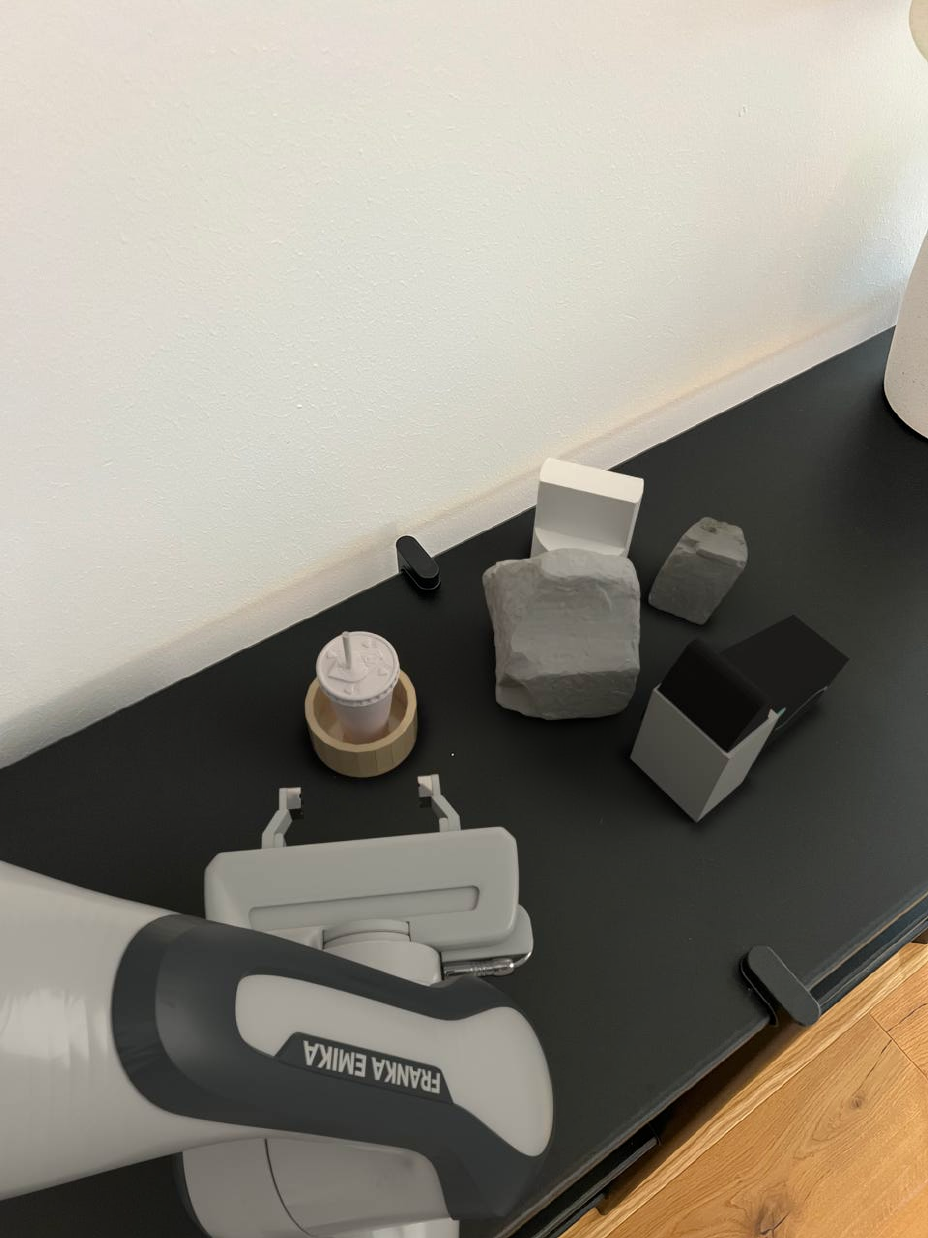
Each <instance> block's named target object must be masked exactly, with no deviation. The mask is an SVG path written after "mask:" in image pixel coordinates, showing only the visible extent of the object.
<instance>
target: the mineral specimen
mask: <svg viewBox="0 0 928 1238" xmlns="http://www.w3.org/2000/svg"><path fill="white" fill-rule="evenodd" d="M748 551H749V550H748V546H747V541H746V540H745V535H744V532H743V529H742V528H740V527H739V526H737V525H733V524H729V523H728V522H726V521H718V520H716V519H714V518H712V517H709V516H705V517H703V518H700V520H699V521H697V522H695V523H694V525H692V526H691V527H689V529H688V530H687V531H686V532H685V533H684V534H683V535H682V537H681V538H680V539H679V541H678V542H677V543H676V545H675V546H674V548H673V549H672V551H671V552H670V554H669V555H668V557H667V558H666V560H665V562H664V564H663V565H662V566H661V568H660V570H659V572H658V573H657V575H656V577H655V580H654V582H653V584H652V586H651V588H650V591H649V594H648V600H647V601H648V604H649V605H650V606H652V607H653V608H656V609H657V610H660V611H662V612H665V613H669V614H672V615H673V616H675V617H679V618H683V619H684V620H686V621H689V622H690V623H694V624H697V625H705V623H706V622H707V621H708V620H709V618H710V616H711V615H712V614H713V613H714V612H715V610H716V609H717V607H718V606H720V604H721V602H722V601H723V600H724V599H725V597H726V595H727V594H728V592H729V591H730V590H731V589H732V587H734V584H735V583H736V581H737V579H738V578H739V576H740V575H741V574H742V573H743V572H744V569H745V567H746V565H747V563H748V562H749V559H748V554H749V553H748Z"/></svg>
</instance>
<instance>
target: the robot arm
mask: <svg viewBox="0 0 928 1238" xmlns="http://www.w3.org/2000/svg"><path fill="white" fill-rule="evenodd" d="M416 777H417V792H418V801H419V802H418V803H419V809H425V808H427V809H428V808H431V809H432V810H433V811H432V812H434V813H435V815H436V816H437V818H438V831H437V832H427V833H415V834H405V835H395V836H384V837H374V838H363V839H351V840H342V841H341V840H340V841H331V842H320V843H312V844H310V843H309V844H299V845H290V846H289V845H288V846H287V843H286V840H285V837H284V836H285V834H286V833H287V831H288V829H289V827H290V826H291V824H292V822H293V821H296V820H297V821H298V820H304V819H305V813H304V811H305V810H304V804H305V803H304V800H305V799H304V792H303V790H302V786H292V787H281V788H279V789H278V810H276V811H275V813H274V815H273V816H272V818H271V819H270V821H269V823H268V824H267V826H266V827H265V829H264V831H263V832H262V834H261V848H257V849H256V848H255V849H247V850H246V849H245V850H236V851H225V852H218V853H217V854H216V855H215V856H214V857H213V858H212V859H211V860H210V862H209V863H208V865H206V867H205V869H204V873H203V874H204V875H203V876H204V878H203V898H204V899H203V901H204V914H205V918H204V917H201V916H197V915H191V914H185V913H180V912H177V911H173V910H170V909H166V908H162V907H158V906H155V905H151V904H146V903H142V902H139V901H135V900H129V899H125V898H121V897H118V896H113V895H110V894H107V893H103V892H99V891H95V890H92V889H89V888H86V887H82V886H79V885H76V884H72V883H69V882H66V881H63V880H60V879H57V878H54V877H51V876H48V875H45V874H42V873H40V872H36V871H33V870H29V869H27V868H25V867H22V866H19V865H16V864H12V863H10V862H7V861H4V860H1V859H0V1202H1V1201H4V1200H8V1199H13V1198H16V1197H20V1196H23V1195H27V1194H30V1193H34V1192H38V1191H41V1190H45V1189H49V1188H52V1187H55V1186H59V1185H62V1184H66V1183H70V1182H73V1181H77V1180H81V1179H85V1178H88V1177H91V1176H95V1175H99V1174H103V1173H107V1172H109V1171H112V1170H117V1169H120V1168H123V1167H127V1166H131V1165H135V1164H138V1163H141V1162H145V1161H150V1160H153V1159H156V1158H161V1157H165V1156H170V1155H171V1162H172V1163H171V1164H172V1165H171V1166H172V1173H173V1178H174V1182H175V1187H176V1189H177V1193H178V1195H179V1199H180V1201H181V1203H182V1205H183V1207H184V1210H185V1211H186V1213H187V1215H188V1216H189V1218H190V1219H191V1220H192V1222H193V1223H194V1224H195V1226H196V1227H197V1228H198V1229H199V1230H200V1231H201V1232H202V1233H203V1234H204V1235H205V1236H206V1237H207V1238H460V1221H467V1220H479V1219H492V1218H493V1219H494V1218H504V1217H507V1216H508V1215H509V1214H510V1213H511V1212H512V1211H513V1209H515V1207H517V1204H518V1203H519V1202H520V1201H521V1200H522V1198H523V1197H524V1195H525V1194H526V1192H527V1191H528V1189H530V1186H531V1185H532V1184H533V1182H534V1180H535V1179H536V1177H537V1175H538V1173H539V1172H540V1171H541V1168H542V1167H543V1164H544V1163H545V1160H546V1159H547V1156H548V1154H549V1152H550V1149H551V1148H552V1144H553V1141H554V1137H555V1131H556V1121H557V1108H556V1107H557V1104H556V1094H555V1093H556V1092H555V1086H554V1080H553V1074H552V1071H551V1066H550V1062H549V1059H548V1056H547V1053H546V1050H545V1046H544V1044H543V1042H542V1039H541V1037H540V1035H539V1033H538V1030H537V1029H536V1027H535V1026H534V1024H533V1022H532V1020H531V1019H530V1017H529V1016H528V1015H527V1014H526V1012H525V1011H524V1010H523V1009H522V1008H521V1007H520V1006H519V1005H518V1004H517V1003H516V1002H514V1001H513V1000H512V999H511V998H510V997H509V996H507V995H506V994H505V993H504V992H502V991H501V990H499V989H498V988H496V987H495V986H494V985H492V984H490V983H488V982H487V981H485V980H484V979H482V978H485V977H486V978H487V977H488V978H489V977H493V978H503V977H508V976H511V975H514V974H515V969H518V968H520V967H522V966H523V965H524V964H526V963H527V962H528V961H529V960H530V958H531V957H532V955H533V953H534V947H535V938H534V937H535V936H534V931H533V925H532V919H531V916H530V914H529V912H528V910H526V908H525V907H524V906H523V905H522V904H520V903H519V898H520V897H519V894H520V869H519V855H518V854H519V853H518V844H517V839H516V838H515V837H514V835H512V834H511V833H510V832H509V831H508V830H507V829H506V828H505V827H502V826H490V827H479V828H467V829H462V828H461V820H460V819H461V818H460V815H459V814H458V813H457V811H456V810H455V809H454V808H453V807H452V805H451V804H450V803H449V801H448V800H447V799H446V798H445V796H444V795H442V794H441V786H440V785H441V784H440V775H439V774H438V773H434V774H424V775H418V776H416ZM513 958H518V959H517V960H515V961H514V959H513Z"/></svg>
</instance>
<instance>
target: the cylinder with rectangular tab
mask: <svg viewBox="0 0 928 1238" xmlns="http://www.w3.org/2000/svg"><path fill="white" fill-rule="evenodd" d="M644 484H645V483H644V478H641V477H636V476H632V475H627V474H624V473H619V472H614V471H610V470H605V469H601V468H597V467H593V466H588V465H584V464H579V463H575V462H571V461H566V460H562V459H557V458H553V457H548V458H546V459H545V460H544V462H543V464H542V466H541V468H540V473H539V479H538V489H537V498H536V505H535V513H534V514H535V515H534V521H533V522H534V523H533V533H532V539H531V540H532V541H531V548H530V549H531V550H530V557H529V559H530V558H535V557H537V556H539V555H540V554H543V553H546V552H549V551H552V550H555V549H560V548H578V549H583V550H588V551H594V552H597V553H602V554H603V555H616V556H621V557H624V558H628V556H629V551H630V548H631V544H632V539H633V535H634V531H635V526H636V522H637V518H638V514H639V510H640V506H641V502H642V498H643V493H644Z"/></svg>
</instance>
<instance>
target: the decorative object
mask: <svg viewBox="0 0 928 1238" xmlns="http://www.w3.org/2000/svg"><path fill="white" fill-rule="evenodd" d="M849 661H850V658H849V657H848V656H847V655H845V654H844V653H843V652H841V651H840V650H839V649H837V647H835V646H834V645H833V644H831V642H829V641H828V640H827V639H825V638H824V637H822V635H820V634H819V633H818V632H817V631H815V630H814V629H812V628H811V627H810V626H809V625H807V624H806V622H804V621H802V620H801V619H800V618H799V617H797V616H796V615H795V614H792V615H789V616H787V617H786V618H784V619H781V620H780V621H778V622H775V623H774V624H772V625H770V626H768V627H766V628H764V629H762V630H760V631H758V632H757V633H755V634H753V635H751V636H749V637H747V638H744V639H743V640H741V641H739V642H737V643H735V644H733V645H731V646H729V647H727V648H725V649H723V650H721V651H720V652H719V651H718V652H717V651H716V650H715V649H714V648H713V647H712V646H710V644H708V643H707V642H706V641H705V640H703V639H702V638H701V637H700V636H697V637H695V638H694V639H692V640H691V641H690V642H689V643H688V644H687V646H686V647H684V650H683V651H682V652H681V654H680V655H679V656H678V658H677V659H676V660H675V662H674V663H673V665H672V666H671V667H670V669H669V670H668V671H667V673H666V675H665V677H664V678H663V680H662V681H661V682H660V683H659V684H658V685H657V686H656V687H654V688H653V689H652V692H651V694H650V698H649V700H648V703H647V704H646V705H645V707H644V708H643V710H642V712H641V713H640V716H639V721H640V722H641V723H640V727H639V729H638V730H639V731H638V733H637V736H636V739H635V741H634V742H635V743H634V745H633V747H632V751H631V754H630V756H629V758H630V759H631V760H632V762H634V763H635V764H636V765H637V766H638V767H639V768H640V769H641V770H642V771H643V772H644V773H645V774H646V775H647V776H648V777H649V778H650V779H651V780H652V781H653V782H654V783H655V784H656V785H657V786H658V787H659V788H660V789H661V790H662V791H664V793H665V794H666V795H668V797H670V798H671V799H672V800H673V801H674V802H675V803H676V804H677V805H678V807H680V808H681V809H682V810H683V811H684V812H685V813H686V814H687V815H688V816H689V817H690V818H691V819H692V820H693V821H694V822H695V823H698V822H699V821H700V820H702V819H703V818H704V817H705V816H706V815H707V814H708V813H709V812H710V811H711V810H713V809H714V808H715V807H716V806H718V805H719V803H720V802H721V801H723V800H724V799H725V798H726V797H727V796H728V795H729V794H731V793H732V792H733V791H734V790H735V789H737V788H738V787H739V786H740V785H741V784H742V783H743V781H744V780H745V778H746V776H747V775H748V773H749V771H750V769H751V768H752V766H753V764H754V762H755V760H756V758H757V757H758V755H759V754H760V753H761V752H763V750H765V749H766V748H767V747H768V746H769V745H771V744H772V743H773V742H774V741H775V740H776V739H777V738H778V737H780V736H781V735H782V734H784V732H785V731H787V730H788V729H789V728H790V727H792V726H793V725H794V724H795V723H796V722H797V721H798V720H800V718H802V717H803V716H804V715H805V714H806V713H807V712H808V711H809V710H811V709H812V708H813V707H814V706H815V704H816V703H817V702H818V701H819V699H820V698H821V696H822V695H823V694H824V693H825V691H826V690H827V689H828V687H829V686H830V685H831V683H833V681H834V680H835V679H836V677H837V676H838V675H839V673H840V672H841V671H842V670H843V668H844V667H845V666H846V664H847V663H848V662H849Z"/></svg>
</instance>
